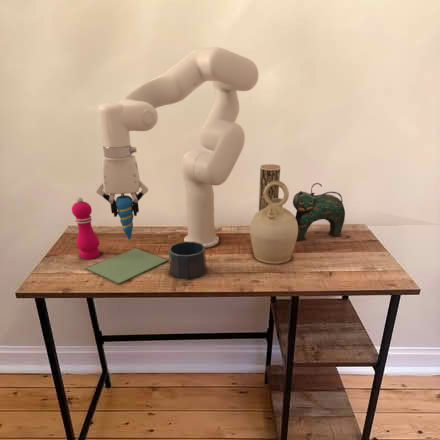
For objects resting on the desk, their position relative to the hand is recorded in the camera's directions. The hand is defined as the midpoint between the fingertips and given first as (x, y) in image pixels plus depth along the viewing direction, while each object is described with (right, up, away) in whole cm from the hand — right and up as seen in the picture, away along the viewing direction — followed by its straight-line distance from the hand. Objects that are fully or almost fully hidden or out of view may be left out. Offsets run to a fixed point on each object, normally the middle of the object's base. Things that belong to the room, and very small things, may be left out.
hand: (125, 214), depth 121 cm
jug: (+46, -12, +13) cm, 49 cm away
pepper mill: (-16, -11, +15) cm, 24 cm away
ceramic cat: (+64, -3, +28) cm, 70 cm away
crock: (+18, -17, +4) cm, 25 cm away
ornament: (0, -7, +4) cm, 8 cm away
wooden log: (+46, -2, +30) cm, 55 cm away
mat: (-1, -15, +8) cm, 17 cm away
